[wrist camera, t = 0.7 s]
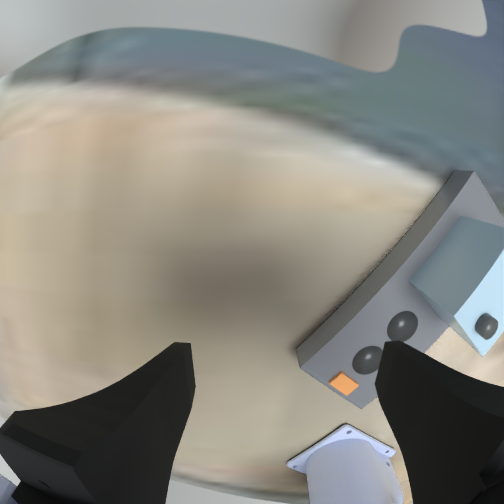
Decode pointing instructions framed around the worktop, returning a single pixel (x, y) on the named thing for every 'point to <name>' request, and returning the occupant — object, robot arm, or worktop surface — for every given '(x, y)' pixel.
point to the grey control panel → (392, 298)
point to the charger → (467, 281)
